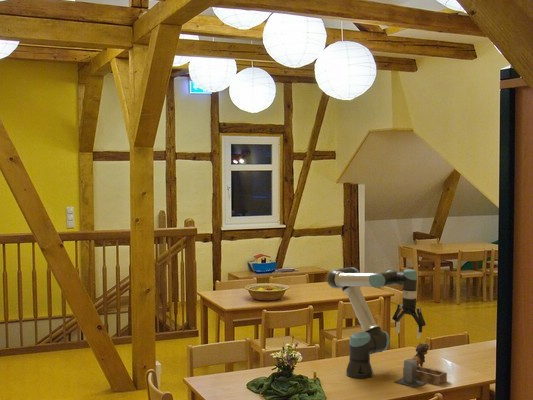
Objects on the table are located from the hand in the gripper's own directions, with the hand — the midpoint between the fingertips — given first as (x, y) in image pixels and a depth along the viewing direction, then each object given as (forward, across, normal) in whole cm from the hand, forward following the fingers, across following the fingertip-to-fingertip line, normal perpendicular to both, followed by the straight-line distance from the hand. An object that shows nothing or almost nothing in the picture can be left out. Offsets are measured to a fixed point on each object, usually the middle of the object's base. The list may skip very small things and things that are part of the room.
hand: (408, 335), depth 380 cm
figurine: (+26, -7, +20) cm, 33 cm away
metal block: (+25, +4, -3) cm, 25 cm away
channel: (+25, +6, +9) cm, 27 cm away
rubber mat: (+25, +4, -3) cm, 26 cm away
